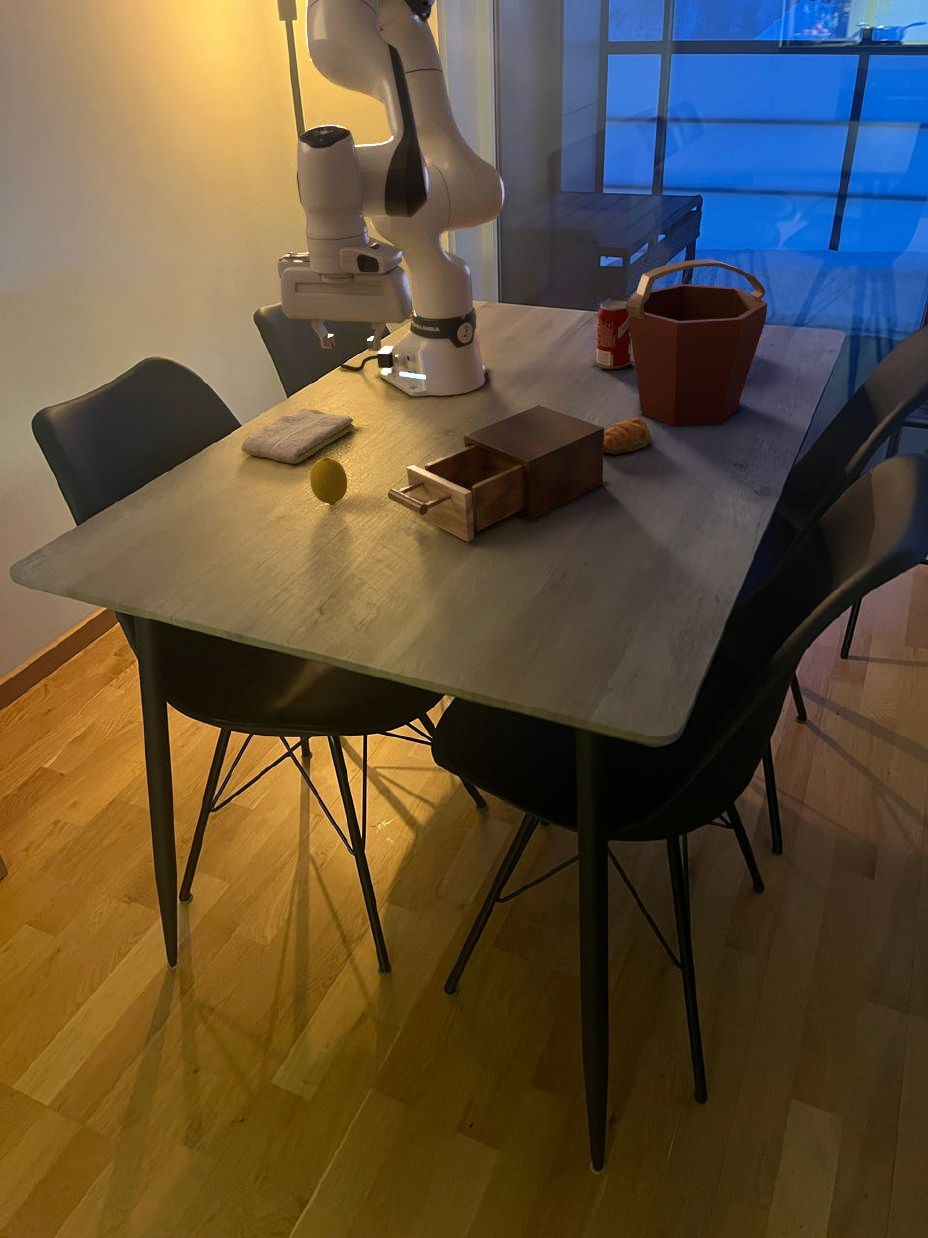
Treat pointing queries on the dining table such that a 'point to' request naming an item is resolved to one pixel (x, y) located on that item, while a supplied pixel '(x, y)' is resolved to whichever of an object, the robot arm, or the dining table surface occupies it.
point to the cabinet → (547, 455)
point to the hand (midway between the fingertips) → (351, 348)
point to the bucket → (693, 344)
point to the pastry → (626, 436)
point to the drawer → (464, 491)
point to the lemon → (328, 480)
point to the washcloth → (297, 435)
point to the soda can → (613, 335)
